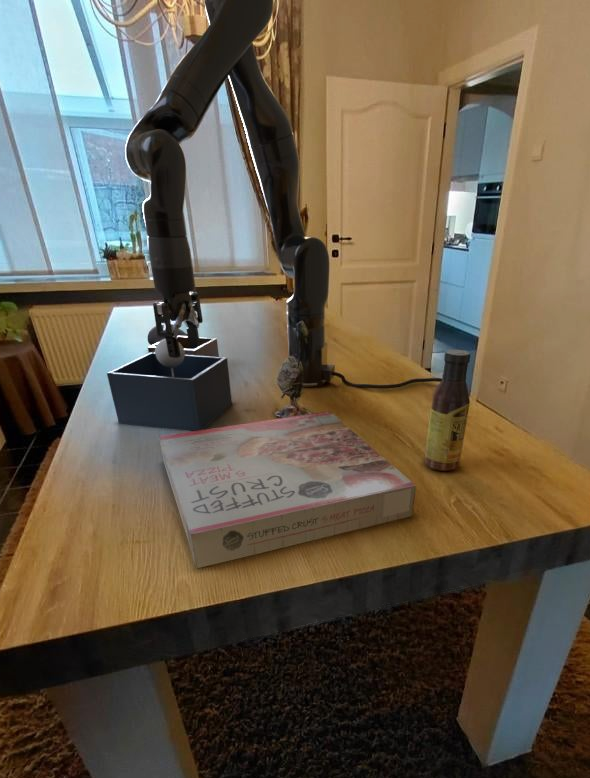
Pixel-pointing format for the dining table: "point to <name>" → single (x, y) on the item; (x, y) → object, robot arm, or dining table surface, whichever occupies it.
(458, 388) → the sauce bottle
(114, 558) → the dining table surface
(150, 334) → the seashell
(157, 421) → the bin
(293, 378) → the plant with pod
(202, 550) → the pizza box
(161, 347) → the lollipop
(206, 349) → the basket
